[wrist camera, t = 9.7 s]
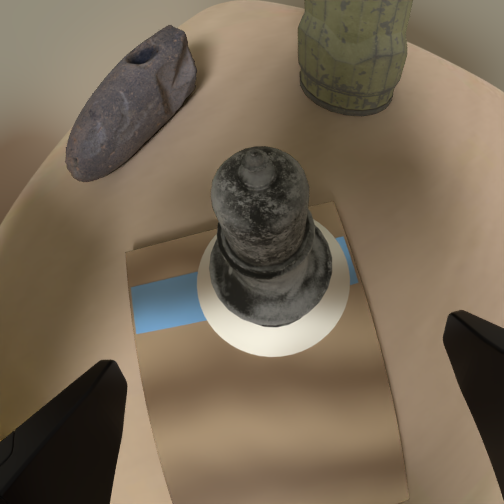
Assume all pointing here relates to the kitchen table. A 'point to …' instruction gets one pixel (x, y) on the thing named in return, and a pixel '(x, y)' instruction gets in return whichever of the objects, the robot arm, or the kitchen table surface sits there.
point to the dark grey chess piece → (266, 239)
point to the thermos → (352, 53)
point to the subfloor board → (263, 386)
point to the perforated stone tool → (131, 104)
